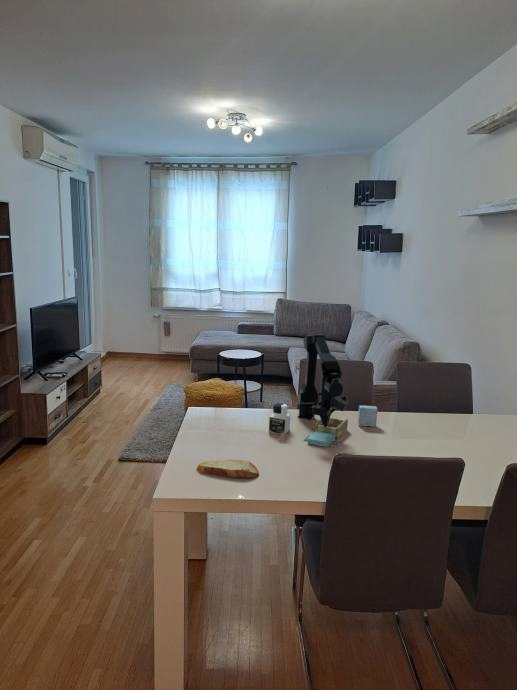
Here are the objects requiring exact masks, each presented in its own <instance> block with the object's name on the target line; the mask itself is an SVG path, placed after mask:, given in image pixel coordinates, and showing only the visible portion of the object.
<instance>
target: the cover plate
mask: <svg viewBox="0 0 517 690" xmlns="http://www.w3.org/2000/svg"><path fill="white" fill-rule="evenodd" d="M335 437H336V434H332V433H327V432H321V431H316V432H315V431H314V433H313V434H312V435H310V437H309V438H308V441H307V444H308V445H309V444H310V445H315V446H319V447H325V448H328V447H329V446H330V444H331V443H332V442H333V441H336V439H335Z"/></svg>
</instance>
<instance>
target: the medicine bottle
mask: <svg viewBox="0 0 517 690" xmlns="http://www.w3.org/2000/svg"><path fill="white" fill-rule="evenodd" d="M288 409H289V408H288V405H287V404H285V403H283V402H282V403H281V402H280V403H279V402H278V403H274V404H273V408H272V414H271V415H270V416H269V419H268V420H269V421H268V433H271V434H277V435H286V434H287V433H288V432H289V431H290V430H291V429H290V427H291V414H289V413H288Z"/></svg>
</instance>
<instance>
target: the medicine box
mask: <svg viewBox="0 0 517 690" xmlns="http://www.w3.org/2000/svg"><path fill="white" fill-rule="evenodd" d="M377 420H378V407H377V406H376V405H375V406H373V405H358V417H357V425H358V427H363V426H371V427H370V428H377Z"/></svg>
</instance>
